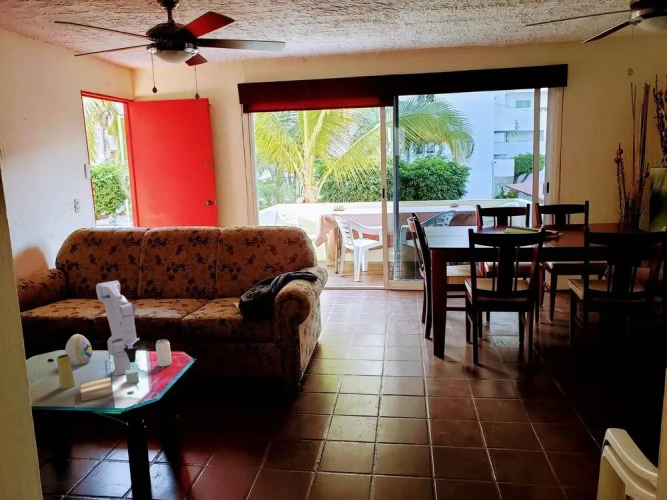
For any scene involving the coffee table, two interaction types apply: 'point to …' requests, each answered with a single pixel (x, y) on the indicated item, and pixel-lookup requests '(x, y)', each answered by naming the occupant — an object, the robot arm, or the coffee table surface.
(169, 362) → the can
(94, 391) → the beech block
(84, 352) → the decorative egg
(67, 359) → the vase
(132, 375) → the teal cube
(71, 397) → the coffee table surface
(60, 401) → the coffee table surface
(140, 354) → the coffee table surface
